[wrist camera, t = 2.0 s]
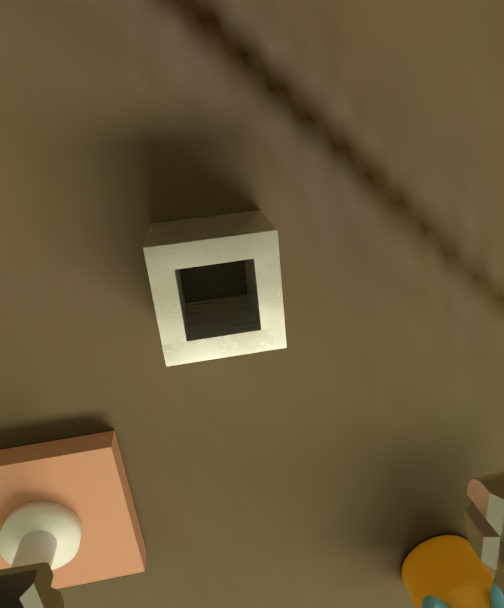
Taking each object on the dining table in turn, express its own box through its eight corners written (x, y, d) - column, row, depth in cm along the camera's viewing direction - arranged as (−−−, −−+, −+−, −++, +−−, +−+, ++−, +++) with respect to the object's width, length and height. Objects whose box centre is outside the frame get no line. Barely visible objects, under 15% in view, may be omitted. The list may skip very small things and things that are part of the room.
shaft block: (114, 430, 27) (84, 577, 19) (146, 551, 31) (133, 719, 23) (-64, 460, 26) (-183, 630, 18) (-9, 581, 30) (-84, 769, 22)
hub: (259, 209, 24) (277, 229, 20) (269, 309, 26) (286, 347, 22) (149, 223, 23) (143, 248, 19) (168, 324, 25) (166, 366, 21)
